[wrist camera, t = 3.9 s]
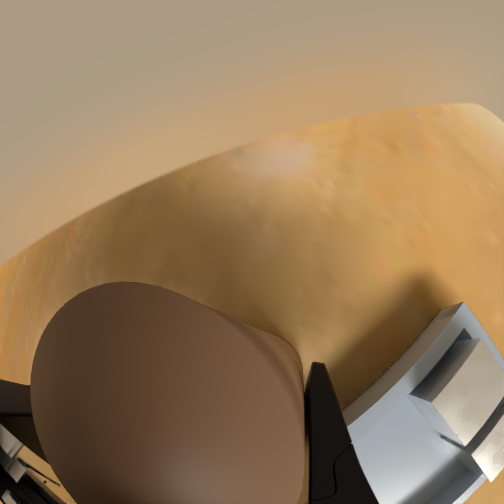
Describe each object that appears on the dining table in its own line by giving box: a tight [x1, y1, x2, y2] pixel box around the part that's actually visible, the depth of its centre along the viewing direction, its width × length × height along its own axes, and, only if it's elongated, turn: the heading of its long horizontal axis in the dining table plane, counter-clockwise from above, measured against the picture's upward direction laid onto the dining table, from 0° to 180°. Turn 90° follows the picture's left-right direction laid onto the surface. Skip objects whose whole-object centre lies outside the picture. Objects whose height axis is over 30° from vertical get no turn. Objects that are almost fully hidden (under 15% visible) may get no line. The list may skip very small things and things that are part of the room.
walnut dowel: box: [30, 282, 304, 504], centre depth 9 cm, size 5×5×13 cm
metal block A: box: [441, 397, 504, 482], centre depth 8 cm, size 4×4×4 cm
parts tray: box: [342, 302, 504, 504], centre depth 10 cm, size 14×12×3 cm
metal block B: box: [406, 338, 504, 446], centre depth 10 cm, size 4×4×4 cm
